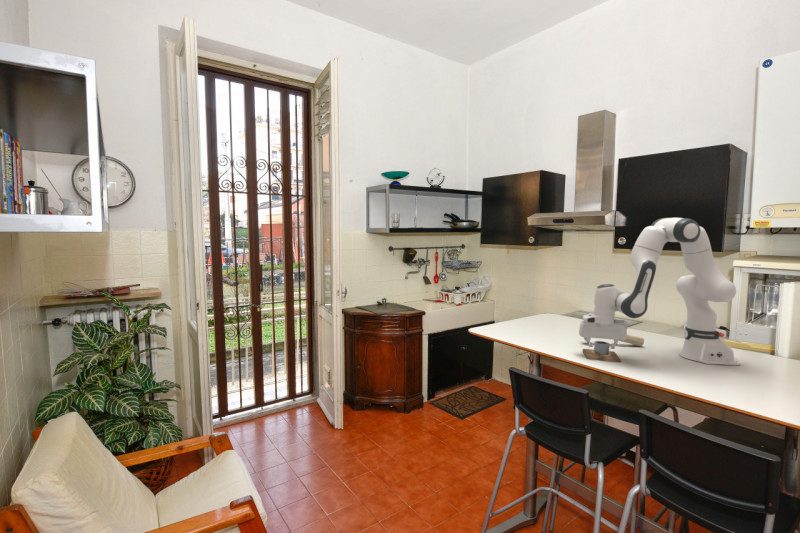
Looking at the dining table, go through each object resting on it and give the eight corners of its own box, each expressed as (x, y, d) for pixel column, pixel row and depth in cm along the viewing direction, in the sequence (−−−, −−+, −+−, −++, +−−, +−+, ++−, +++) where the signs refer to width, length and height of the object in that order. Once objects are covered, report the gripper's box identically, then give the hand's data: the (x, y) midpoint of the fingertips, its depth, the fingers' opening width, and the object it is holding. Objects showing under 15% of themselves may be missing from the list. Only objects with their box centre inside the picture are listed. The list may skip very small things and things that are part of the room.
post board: (614, 354, 196) (615, 341, 195) (620, 362, 184) (621, 348, 184) (582, 351, 199) (583, 338, 199) (586, 358, 188) (587, 345, 187)
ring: (606, 352, 194) (607, 341, 193) (609, 355, 188) (610, 345, 187) (593, 350, 195) (593, 340, 195) (595, 354, 189) (596, 343, 189)
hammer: (643, 327, 212) (587, 312, 214) (648, 329, 208) (590, 314, 209) (634, 355, 214) (578, 340, 216) (639, 358, 209) (581, 342, 211)
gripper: (626, 319, 190) (624, 347, 192) (579, 315, 196) (577, 343, 197) (630, 322, 184) (627, 351, 186) (581, 318, 190) (579, 347, 191)
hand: (601, 347), depth 191 cm, fingers open, 8 cm apart
